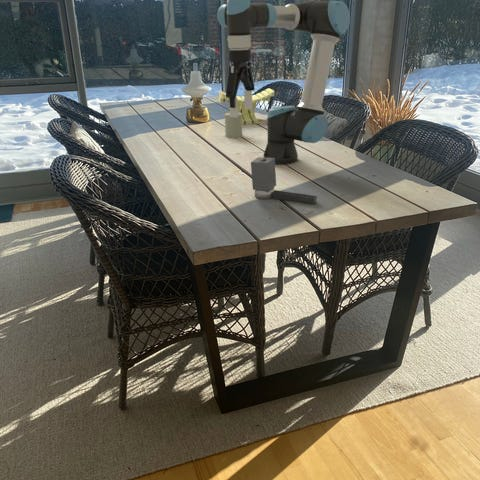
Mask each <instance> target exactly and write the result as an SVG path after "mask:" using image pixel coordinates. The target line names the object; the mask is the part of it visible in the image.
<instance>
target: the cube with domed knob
mask: <svg viewBox="0 0 480 480" xmlns="http://www.w3.org/2000/svg"><path fill="white" fill-rule="evenodd" d="M250 169H251V170H250V171H251V182H252V183H251V184H252V191H253V190H254V191H255V190H265V191H270V190H271V189H272V188H273V187H274V188H275V187H276V186H277V175H276V164H275V158H263V157H257V158H255V159H254V160H252V161H251V162H250Z"/></svg>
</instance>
